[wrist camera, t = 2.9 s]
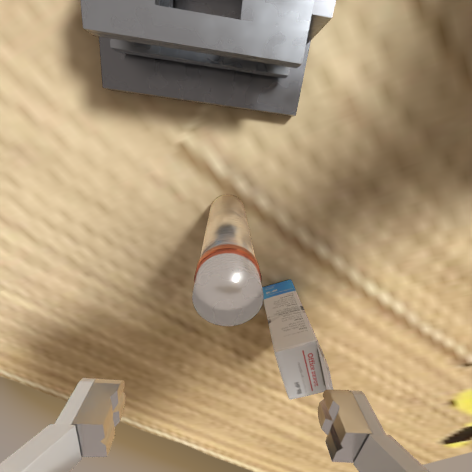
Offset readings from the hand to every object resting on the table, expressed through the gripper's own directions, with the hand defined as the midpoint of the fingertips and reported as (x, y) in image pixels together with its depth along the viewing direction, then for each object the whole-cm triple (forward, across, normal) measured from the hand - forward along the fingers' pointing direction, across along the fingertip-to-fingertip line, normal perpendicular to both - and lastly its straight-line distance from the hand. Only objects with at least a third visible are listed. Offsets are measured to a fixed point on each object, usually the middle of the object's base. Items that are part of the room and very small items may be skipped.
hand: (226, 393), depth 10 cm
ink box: (+24, -10, +14) cm, 30 cm away
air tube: (+24, 0, 0) cm, 24 cm away
